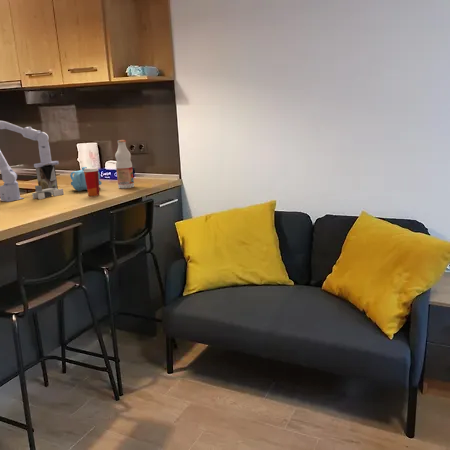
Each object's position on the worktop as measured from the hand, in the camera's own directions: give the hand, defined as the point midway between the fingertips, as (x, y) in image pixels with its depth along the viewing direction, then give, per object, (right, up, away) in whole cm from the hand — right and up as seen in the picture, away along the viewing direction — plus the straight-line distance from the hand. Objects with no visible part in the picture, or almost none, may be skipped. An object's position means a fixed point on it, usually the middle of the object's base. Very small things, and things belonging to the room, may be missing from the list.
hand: (48, 178), depth 260 cm
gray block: (-2, -10, +1) cm, 10 cm away
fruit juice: (+39, -3, +20) cm, 44 cm away
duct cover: (-2, -7, 0) cm, 7 cm away
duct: (-1, -10, +2) cm, 10 cm away
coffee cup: (+26, -9, -1) cm, 27 cm away
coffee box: (-6, -7, +16) cm, 18 cm away
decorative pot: (+16, -5, +19) cm, 25 cm away
